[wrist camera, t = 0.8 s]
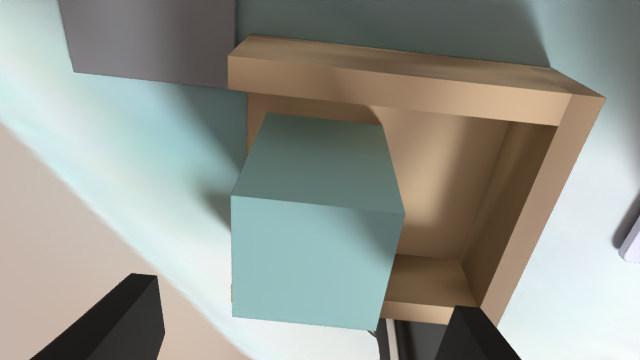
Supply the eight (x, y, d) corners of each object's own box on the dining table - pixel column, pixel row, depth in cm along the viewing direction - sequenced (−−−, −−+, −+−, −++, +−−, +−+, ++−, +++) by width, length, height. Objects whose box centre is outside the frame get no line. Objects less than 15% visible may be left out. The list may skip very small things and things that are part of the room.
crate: (551, 67, 14) (606, 97, 12) (471, 272, 20) (495, 329, 17) (250, 34, 14) (227, 55, 11) (247, 249, 19) (231, 302, 16)
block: (382, 124, 15) (405, 213, 10) (364, 219, 18) (375, 331, 12) (266, 112, 15) (230, 195, 10) (263, 208, 18) (232, 317, 12)
